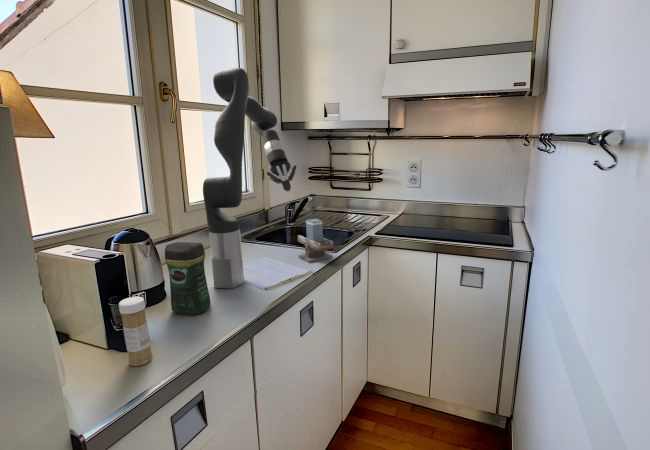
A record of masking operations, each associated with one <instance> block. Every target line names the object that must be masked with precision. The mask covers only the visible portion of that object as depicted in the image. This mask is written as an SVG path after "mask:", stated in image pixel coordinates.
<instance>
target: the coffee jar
mask: <svg viewBox="0 0 650 450" xmlns="http://www.w3.org/2000/svg"><path fill="white" fill-rule="evenodd" d="M164 248H165V249H164V261H165V263H166V266H167V269H168V276H169V277H168V278H169V285H170V287H169V288H170V305H171V311H172V312H173V313H175V314H179V315H184V316H186V315H187V316H188V315H189V316H194V315H195V316H196V315H198V314H201V313H204V312H206V311H207V310H208V309H209V308H210V307H211V304H212V303H211V298H210V291H209V288H208V283H207V277H206V271H205V259H206V252H205V249H204V244H202V242H192V241H191V242H187V241H175V242H174V241H173V242H172V243H168V244H167V245H165V247H164Z"/></svg>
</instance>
